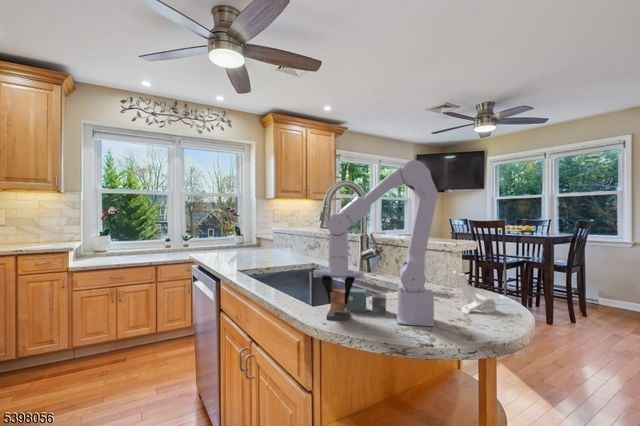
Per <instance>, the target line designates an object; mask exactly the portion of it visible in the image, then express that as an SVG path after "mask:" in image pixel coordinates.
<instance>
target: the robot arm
mask: <svg viewBox="0 0 640 426" xmlns="http://www.w3.org/2000/svg"><path fill="white" fill-rule="evenodd" d="M404 185H405V186H406V187H408V188H409V189H411V191H412V192H413V193H414V195H415V196H416V197H417V203H416V209H415V213H414V218H413V224H412V228H411V233H410V238H409V242H408V247H407V251H406V255H405V257H404V262H403V263H402V265H401V266H400V267H399V269H398V276H399V278H400V284H398V287H397V290H398V291H397V292H398V293H397V295H398V297H397V299H398V300H397V303H398V304H397V309H398V310H397V312H396V314H395V315H396V324H398V325H406V326H408V325H410V326H423V327H434V326H435V322H434V321H435V311H434V310H435V308H434V307H435V301H434V300H435V299H434V292H433V289H426V287H425V285H426V281H427V279H426V274H425V275H424V267H425V265H426V263H425V261H426V259H425V258H426V253H427V249H428V242H429V238H430V234H431V233H430V232H431V227H432V223H433V218H434V214H435V210H436V204H437V199H438V190H437V187H436V185H435V183H434V180H433V177H432V175H431V171H430V169H429V168H428V167H427V166H426V165H425V164H424V163H423V162H422V161H420V160H416V159H413V160H409V161H407V162H406V163H404V164H403V167H402V166H400V167H399V168H397V169H395V170H393V171H392V172H391V173H390V174H388V175H387V176H386V177H385V178H383V180H381V181H380V182H379V183H378V184H377V185H375V186H374V187H373V188H372V189H371V190H370V191H368V193H366V194H365V195H364V196H358V195H357V196H356V197H351V198H349V203H347V204H346V205H345V206H344V207H342V209H338V210H336V212H337V213H335V214H332V215H331V216H330V218H329V219H328V221H327V229H328V231H329V233H328V238H329V239H328V269H313V270H312V271H313V273H312V274H313V275H312V277H313V278H321V283H322V285H323V288H324V289H325V292H326V296H327V299H328V304H331V291H332V290H333V278H335V279H337V278H338V279H345V280H344V290H345V304H347V303H348V298H349V293H350V290H351V289H352V286H353V285H354V282H355V279H356V280H357V279H358V280H364V278H365V271H361V270H352V269H349V240H348V238H349V237H348V236H349V235H348V232H349V231H348V230H349V228H350V226H355V224H357V223H358V222H359V221H361V220H362V219H363V218H364V217H365V216H366V215H368V214H369V213H370V212H371V206H372V205H373V204H374V203H376V201H378V200H379V199H380V198H382V197H383V196H384V195H386V194H387V193H388V192H390V190H392V189H395V188H400V187H403V186H404Z"/></svg>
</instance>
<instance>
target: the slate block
mask: <svg viewBox="0 0 640 426" xmlns="http://www.w3.org/2000/svg"><path fill="white" fill-rule="evenodd" d="M371 296H372V297H371V300H372V301H371V305H372V306H371V308H372V309H371V314H372V315H381V316H383V315H385V316H386V315H387V294H383V293H372V295H371Z"/></svg>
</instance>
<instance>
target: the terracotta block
mask: <svg viewBox="0 0 640 426" xmlns="http://www.w3.org/2000/svg"><path fill="white" fill-rule="evenodd" d="M330 309H331V310H338V311H345V310H346V304H345V289H337V288H336V289H335V288H332V291H331V303H330Z"/></svg>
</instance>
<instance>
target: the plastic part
mask: <svg viewBox="0 0 640 426" xmlns="http://www.w3.org/2000/svg"><path fill="white" fill-rule="evenodd" d="M452 274H453V276H454V278H455V280H456V281H457V283H458V285H459V288H460V289H461V291H462V294H463V295H464V298H465V299H466V301H467V303H468V304H465V305H463V306H462V308H461V313H462V314H466V315H469V314H470V313H471V312H472V311H474V310H476V309H478V310H480V311H482V312H484V313H488V314H491V313H494V312H495V310H496V309H497V304H496V302H495V300H494V299H492V298H490V297H486V296H485V295H482V294H479V293H476V292H475V291H474V289H473V287H472V286H471V284H469V283H468V282H469V279H468V278H467V276H466V273H465V272H463V273H459V274H458V273H457V271H456V270H454V271H453V272H452Z"/></svg>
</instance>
